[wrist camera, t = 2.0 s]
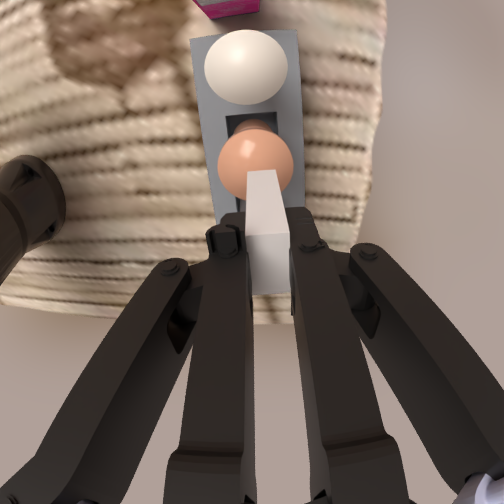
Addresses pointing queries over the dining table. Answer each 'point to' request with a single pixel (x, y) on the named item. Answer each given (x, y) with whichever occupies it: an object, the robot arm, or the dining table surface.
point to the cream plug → (245, 67)
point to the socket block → (231, 115)
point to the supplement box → (227, 7)
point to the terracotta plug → (253, 156)
